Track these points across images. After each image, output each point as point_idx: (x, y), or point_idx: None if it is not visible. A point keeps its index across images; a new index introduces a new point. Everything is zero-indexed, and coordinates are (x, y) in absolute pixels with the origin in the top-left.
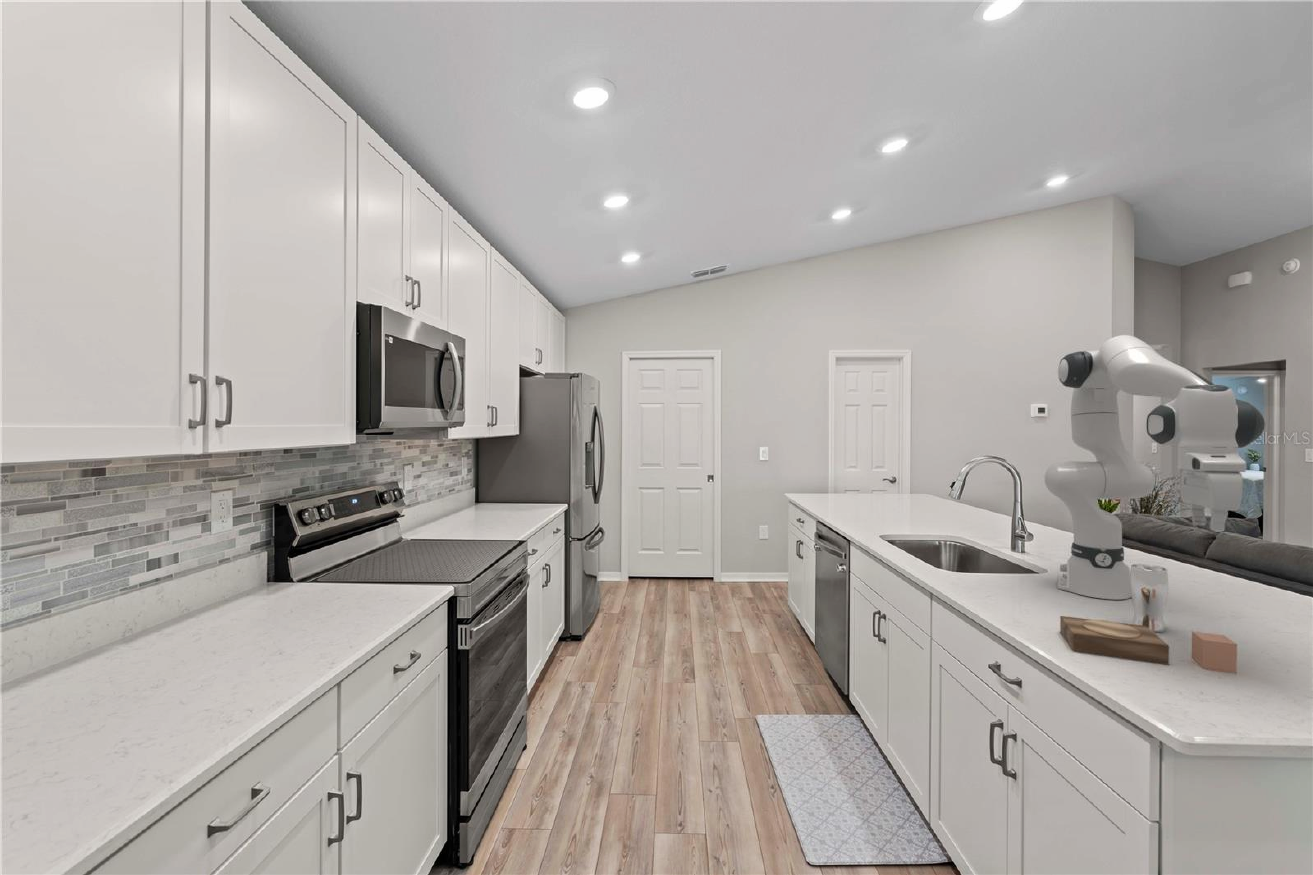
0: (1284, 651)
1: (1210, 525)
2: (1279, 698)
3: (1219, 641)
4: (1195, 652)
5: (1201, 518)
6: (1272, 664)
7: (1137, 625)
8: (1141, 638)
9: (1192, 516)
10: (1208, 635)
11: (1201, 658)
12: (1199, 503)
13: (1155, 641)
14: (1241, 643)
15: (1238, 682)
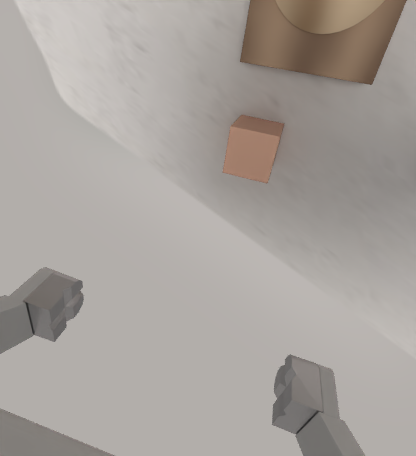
0: (336, 282)
1: (48, 288)
2: (160, 152)
3: (229, 151)
4: (267, 124)
5: (280, 407)
6: (281, 230)
7: (376, 61)
8: (275, 17)
9: (337, 415)
10: (260, 153)
11: (244, 119)
12: (11, 443)
13: (260, 44)
14: (369, 254)
15: (199, 134)
